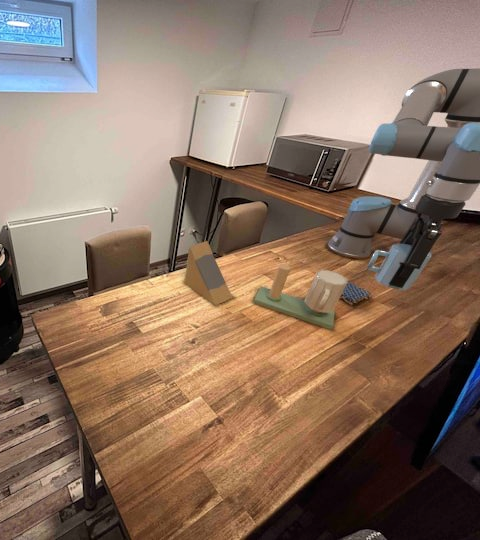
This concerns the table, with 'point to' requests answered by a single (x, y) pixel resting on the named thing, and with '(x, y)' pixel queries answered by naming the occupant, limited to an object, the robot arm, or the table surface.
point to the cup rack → (291, 302)
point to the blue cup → (394, 265)
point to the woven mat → (354, 293)
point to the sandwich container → (205, 274)
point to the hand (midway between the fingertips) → (394, 278)
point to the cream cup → (325, 290)
